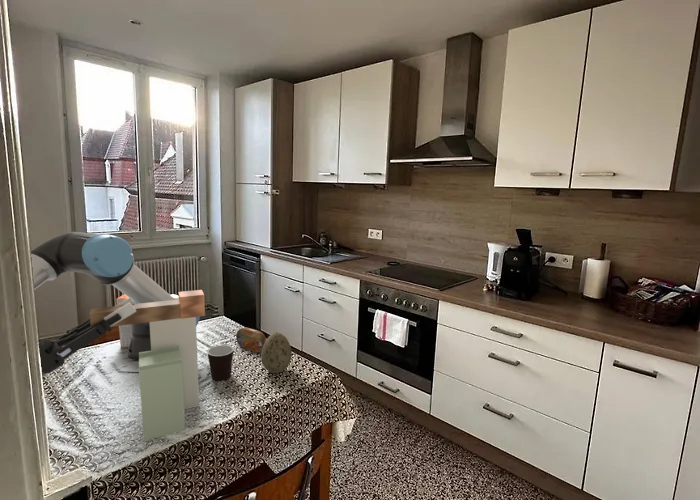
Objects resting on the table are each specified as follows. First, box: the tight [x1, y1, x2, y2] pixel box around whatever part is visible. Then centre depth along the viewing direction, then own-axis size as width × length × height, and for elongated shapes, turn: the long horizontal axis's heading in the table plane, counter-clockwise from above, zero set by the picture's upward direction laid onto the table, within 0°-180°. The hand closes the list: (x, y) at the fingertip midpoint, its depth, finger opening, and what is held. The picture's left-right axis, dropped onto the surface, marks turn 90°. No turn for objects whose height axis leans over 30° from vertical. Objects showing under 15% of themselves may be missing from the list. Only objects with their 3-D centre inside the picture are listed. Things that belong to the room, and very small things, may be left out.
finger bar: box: [89, 289, 206, 328], centre depth 99 cm, size 26×5×6 cm, turn 119°
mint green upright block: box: [138, 346, 186, 442], centre depth 104 cm, size 10×9×21 cm
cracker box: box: [115, 293, 132, 349], centre depth 157 cm, size 14×6×21 cm, turn 5°
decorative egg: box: [260, 332, 293, 374], centre depth 137 cm, size 11×11×15 cm
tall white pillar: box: [149, 317, 200, 410], centre depth 115 cm, size 12×10×30 cm
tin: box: [235, 327, 267, 354], centre depth 155 cm, size 15×3×8 cm, turn 58°
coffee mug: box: [206, 344, 235, 383], centre depth 134 cm, size 12×9×10 cm
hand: (132, 304), depth 97 cm, fingers closed on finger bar, 4 cm apart
